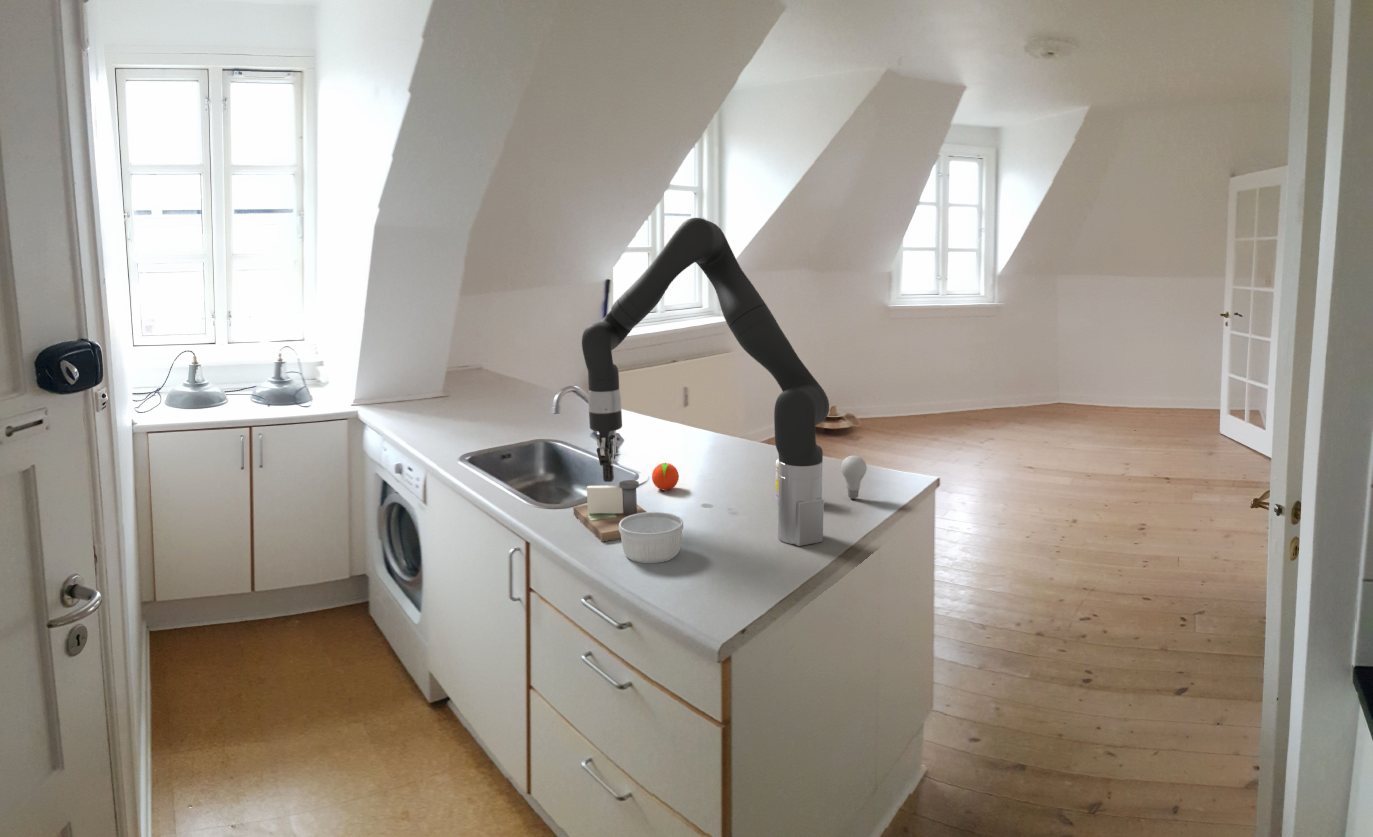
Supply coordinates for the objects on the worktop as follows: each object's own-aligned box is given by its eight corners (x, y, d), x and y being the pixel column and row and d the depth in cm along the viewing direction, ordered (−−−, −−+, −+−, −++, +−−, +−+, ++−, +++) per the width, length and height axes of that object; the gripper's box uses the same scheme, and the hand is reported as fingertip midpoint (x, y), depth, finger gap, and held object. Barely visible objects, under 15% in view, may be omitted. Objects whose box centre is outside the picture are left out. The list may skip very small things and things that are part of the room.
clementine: (678, 494, 217) (678, 467, 216) (651, 495, 218) (650, 467, 216) (679, 485, 225) (679, 459, 224) (652, 485, 225) (652, 459, 224)
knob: (640, 509, 199) (639, 480, 198) (639, 515, 195) (638, 485, 193) (589, 510, 199) (588, 480, 198) (587, 516, 195) (586, 486, 193)
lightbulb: (855, 504, 208) (856, 460, 205) (835, 498, 212) (836, 455, 210) (870, 499, 212) (872, 455, 209) (850, 493, 216) (851, 451, 214)
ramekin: (632, 570, 170) (631, 537, 169) (610, 548, 182) (609, 517, 180) (693, 559, 175) (693, 527, 174) (669, 538, 187) (668, 508, 186)
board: (661, 531, 191) (661, 522, 191) (601, 542, 186) (601, 532, 185) (629, 506, 209) (629, 497, 208) (573, 514, 203) (573, 506, 203)
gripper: (616, 414, 193) (620, 488, 196) (625, 402, 206) (628, 473, 209) (583, 414, 193) (587, 489, 197) (594, 403, 206) (598, 473, 210)
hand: (608, 480), depth 203 cm, fingers closed
